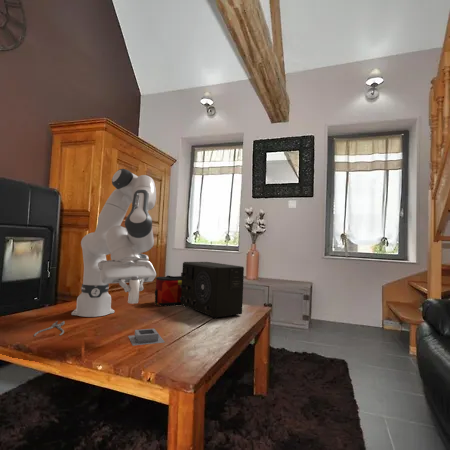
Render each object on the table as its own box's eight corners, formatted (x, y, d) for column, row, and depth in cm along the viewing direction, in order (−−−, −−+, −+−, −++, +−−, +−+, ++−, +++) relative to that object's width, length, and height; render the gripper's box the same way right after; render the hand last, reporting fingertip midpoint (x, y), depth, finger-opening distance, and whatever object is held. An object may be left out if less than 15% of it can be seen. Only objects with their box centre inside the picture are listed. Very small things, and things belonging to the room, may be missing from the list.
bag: (191, 299, 195) (192, 273, 196) (203, 303, 184) (205, 275, 185) (147, 303, 176) (149, 274, 177) (159, 307, 165) (160, 277, 166)
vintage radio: (174, 305, 173) (176, 261, 175) (203, 302, 185) (205, 261, 186) (210, 320, 143) (213, 267, 145) (242, 316, 154) (244, 266, 156)
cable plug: (127, 301, 109) (129, 275, 109) (137, 301, 110) (139, 275, 111) (128, 303, 106) (130, 277, 106) (139, 303, 107) (140, 277, 108)
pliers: (33, 336, 108) (38, 322, 126) (32, 339, 108) (38, 324, 126) (63, 334, 112) (65, 320, 130) (63, 336, 112) (64, 322, 130)
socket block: (128, 338, 111) (128, 328, 112) (157, 336, 116) (158, 326, 116) (132, 348, 101) (133, 337, 102) (164, 345, 106) (165, 335, 106)
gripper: (99, 254, 107) (108, 286, 99) (151, 255, 121) (163, 283, 113) (94, 266, 110) (102, 298, 102) (145, 265, 124) (156, 293, 116)
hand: (134, 290), depth 108 cm, fingers closed on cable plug, 3 cm apart
